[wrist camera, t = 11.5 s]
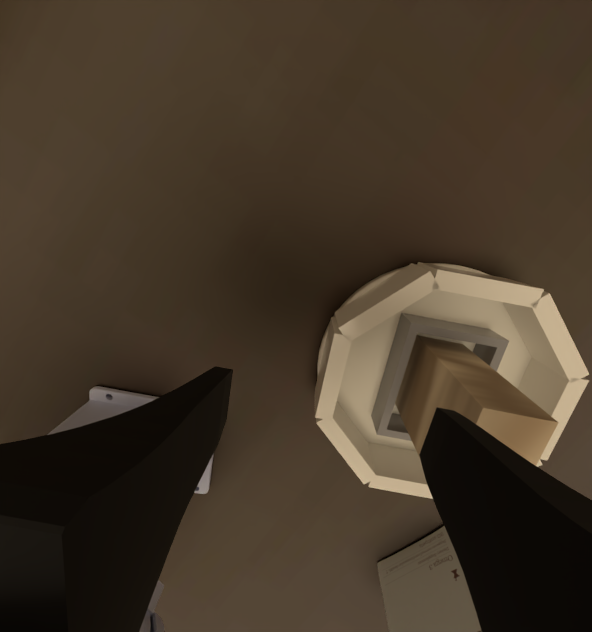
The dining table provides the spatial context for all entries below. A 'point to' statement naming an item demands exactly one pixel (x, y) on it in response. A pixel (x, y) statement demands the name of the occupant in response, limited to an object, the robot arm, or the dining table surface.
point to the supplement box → (427, 588)
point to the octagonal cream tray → (444, 324)
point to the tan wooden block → (469, 398)
